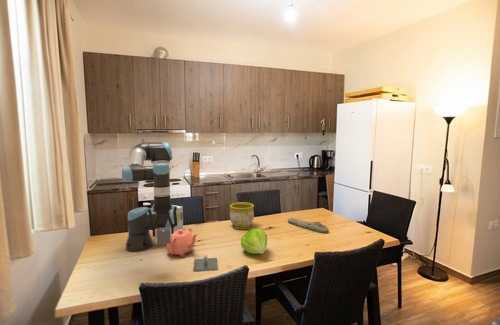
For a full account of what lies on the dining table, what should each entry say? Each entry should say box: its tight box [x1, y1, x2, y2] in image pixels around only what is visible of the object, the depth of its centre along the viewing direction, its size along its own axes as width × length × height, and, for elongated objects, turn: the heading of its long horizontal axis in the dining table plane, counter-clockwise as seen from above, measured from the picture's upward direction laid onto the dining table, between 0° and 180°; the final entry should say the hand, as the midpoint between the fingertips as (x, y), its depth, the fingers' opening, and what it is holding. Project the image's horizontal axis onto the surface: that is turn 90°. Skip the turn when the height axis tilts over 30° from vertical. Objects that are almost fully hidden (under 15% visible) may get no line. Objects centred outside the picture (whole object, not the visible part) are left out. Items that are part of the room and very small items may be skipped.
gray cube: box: [156, 228, 170, 246], centre depth 132 cm, size 6×6×6 cm
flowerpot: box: [229, 201, 255, 230], centre depth 199 cm, size 18×18×16 cm
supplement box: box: [165, 204, 184, 232], centre depth 192 cm, size 10×9×17 cm
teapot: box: [166, 228, 199, 258], centre depth 154 cm, size 16×17×14 cm
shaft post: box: [193, 254, 219, 272], centre depth 140 cm, size 12×12×5 cm
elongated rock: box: [287, 217, 329, 234], centre depth 200 cm, size 35×5×10 cm
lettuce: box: [240, 228, 268, 255], centre depth 154 cm, size 15×20×14 cm
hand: (163, 241), depth 133 cm, fingers closed on gray cube, 6 cm apart
